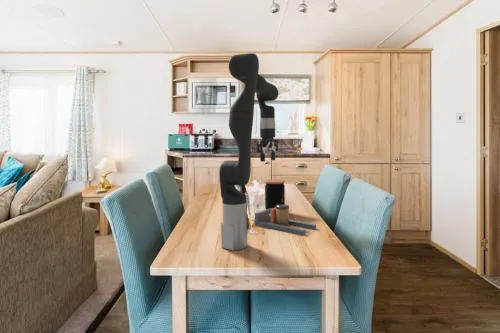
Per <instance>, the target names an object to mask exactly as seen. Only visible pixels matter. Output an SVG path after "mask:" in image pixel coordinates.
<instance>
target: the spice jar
mask: <svg viewBox="0 0 500 333" xmlns="http://www.w3.org/2000/svg"><path fill="white" fill-rule="evenodd" d="M289 220H290V205H289V204H286V203H285V204H279V205H276V224H278V225H283V226H288V227H290V225H289Z"/></svg>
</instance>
